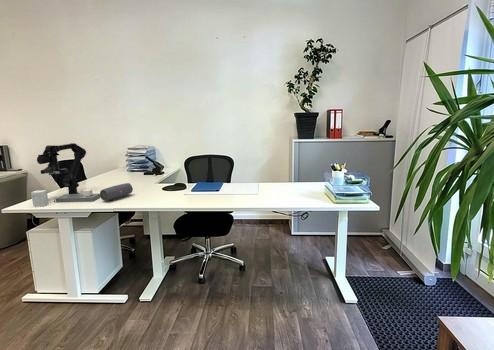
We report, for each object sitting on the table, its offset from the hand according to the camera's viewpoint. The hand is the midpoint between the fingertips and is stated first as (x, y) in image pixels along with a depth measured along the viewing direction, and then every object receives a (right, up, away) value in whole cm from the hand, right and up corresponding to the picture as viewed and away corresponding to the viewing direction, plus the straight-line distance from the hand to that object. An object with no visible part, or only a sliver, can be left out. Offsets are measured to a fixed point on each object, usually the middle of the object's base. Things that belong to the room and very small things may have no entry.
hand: (56, 182), depth 235 cm
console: (+18, -13, -2) cm, 23 cm away
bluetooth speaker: (+47, -12, -2) cm, 49 cm away
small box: (-2, -16, -14) cm, 22 cm away
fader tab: (+26, -10, -3) cm, 28 cm away
